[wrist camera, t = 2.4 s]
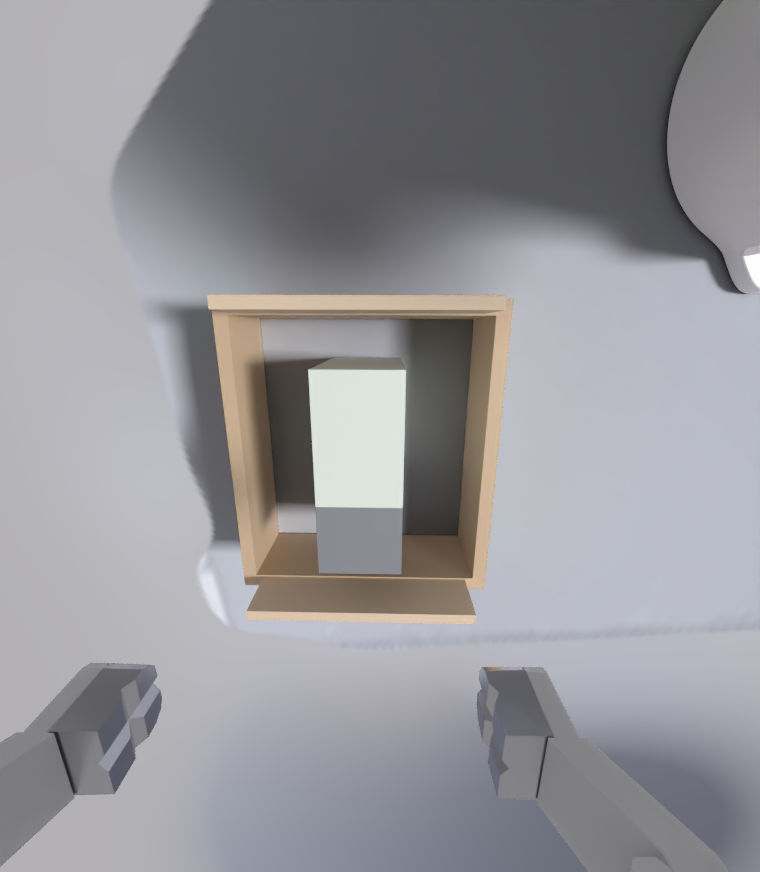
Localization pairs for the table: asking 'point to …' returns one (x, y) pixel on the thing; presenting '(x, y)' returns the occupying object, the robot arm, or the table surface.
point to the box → (358, 463)
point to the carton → (298, 552)
